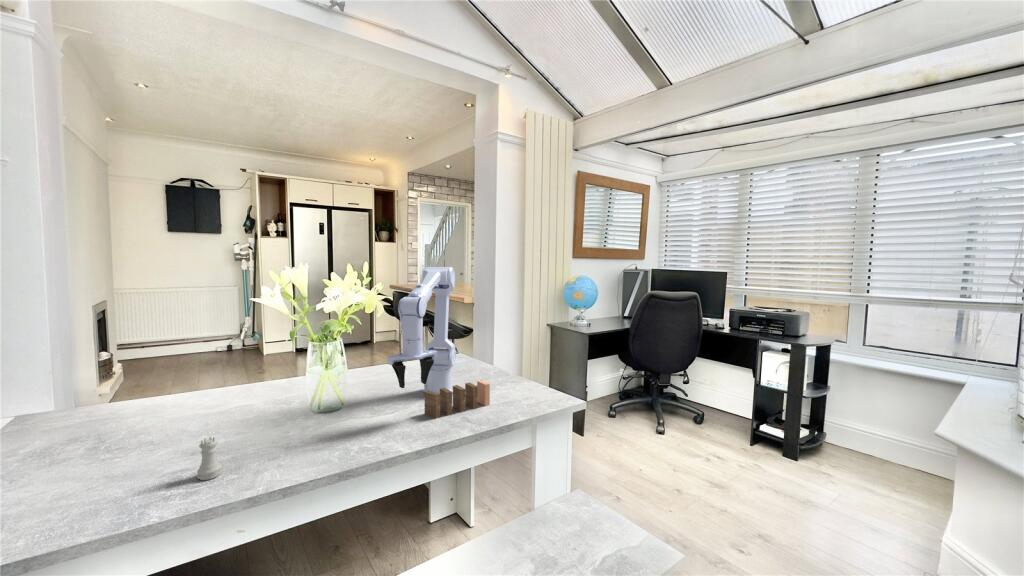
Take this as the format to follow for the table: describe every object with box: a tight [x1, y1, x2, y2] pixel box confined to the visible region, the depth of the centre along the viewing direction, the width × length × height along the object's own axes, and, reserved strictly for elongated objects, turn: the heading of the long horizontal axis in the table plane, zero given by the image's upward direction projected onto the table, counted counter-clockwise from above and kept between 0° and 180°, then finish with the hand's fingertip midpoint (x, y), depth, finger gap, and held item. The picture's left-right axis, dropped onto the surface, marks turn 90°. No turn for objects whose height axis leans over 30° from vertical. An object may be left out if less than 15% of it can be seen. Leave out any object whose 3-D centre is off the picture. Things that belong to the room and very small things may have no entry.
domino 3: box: [452, 384, 466, 413], centre depth 127 cm, size 2×5×7 cm, turn 37°
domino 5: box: [476, 379, 491, 407], centre depth 132 cm, size 2×5×7 cm, turn 36°
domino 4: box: [464, 382, 479, 410], centre depth 130 cm, size 2×5×7 cm, turn 37°
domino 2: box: [440, 388, 453, 416], centre depth 124 cm, size 2×5×7 cm, turn 36°
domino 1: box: [423, 391, 441, 419], centre depth 122 cm, size 2×5×7 cm, turn 53°
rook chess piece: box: [196, 436, 223, 481], centre depth 87 cm, size 4×4×8 cm
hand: (413, 385), depth 118 cm, fingers open, 6 cm apart
